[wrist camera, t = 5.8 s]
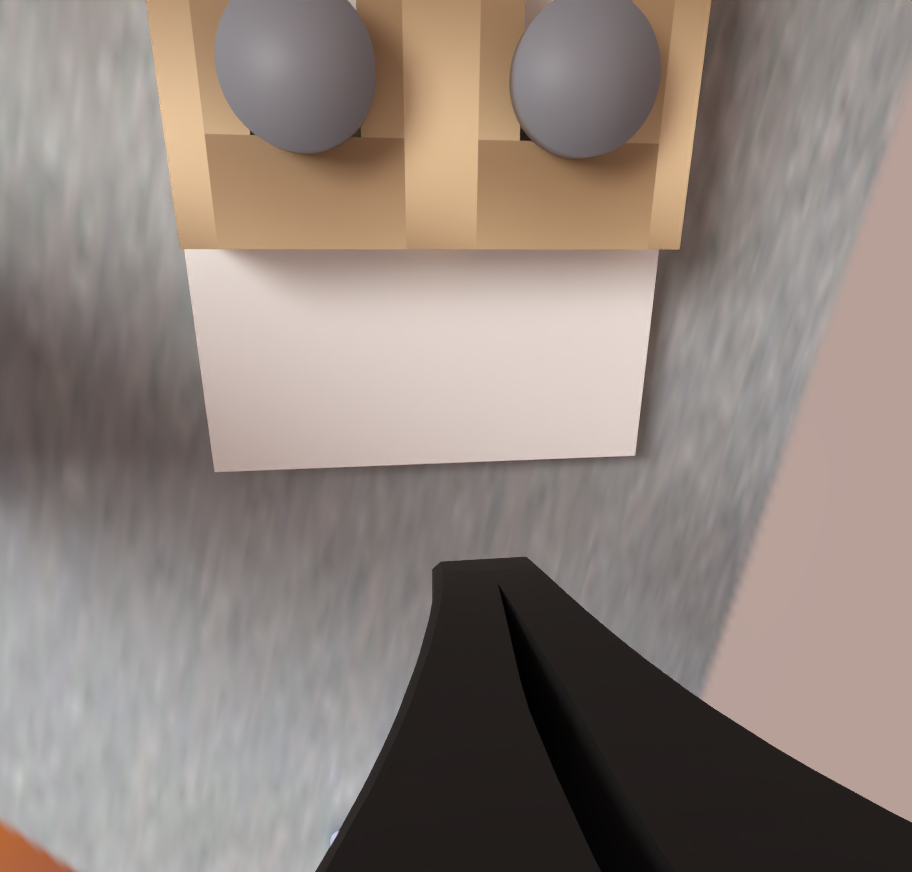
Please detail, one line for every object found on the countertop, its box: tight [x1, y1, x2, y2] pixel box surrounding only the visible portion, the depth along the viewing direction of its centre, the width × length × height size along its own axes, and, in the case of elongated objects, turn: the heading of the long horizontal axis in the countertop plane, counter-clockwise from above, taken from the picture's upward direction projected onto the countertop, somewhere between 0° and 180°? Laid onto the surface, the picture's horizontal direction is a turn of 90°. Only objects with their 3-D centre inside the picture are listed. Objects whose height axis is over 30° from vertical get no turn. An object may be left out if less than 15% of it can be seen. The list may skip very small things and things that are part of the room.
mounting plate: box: [184, 0, 661, 472], centre depth 12 cm, size 17×11×4 cm, turn 179°
